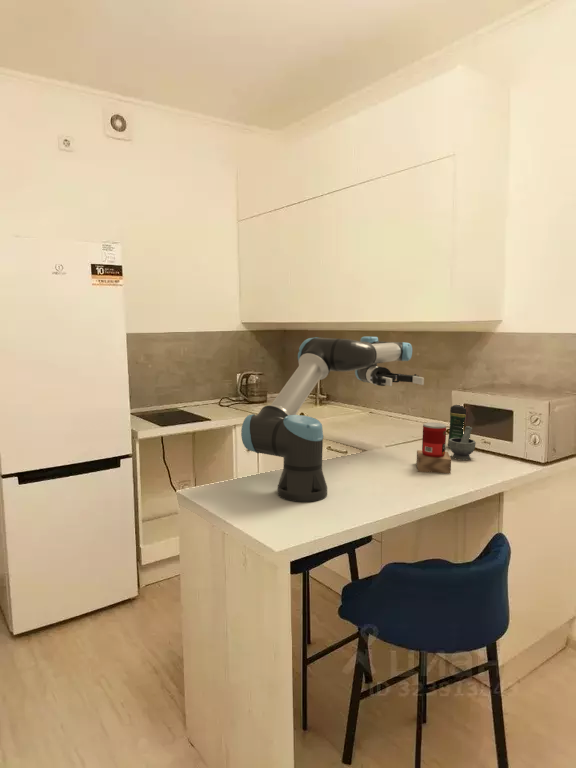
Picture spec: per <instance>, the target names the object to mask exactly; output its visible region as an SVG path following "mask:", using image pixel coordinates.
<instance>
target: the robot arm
mask: <svg viewBox="0 0 576 768" xmlns="http://www.w3.org/2000/svg"><path fill="white" fill-rule="evenodd" d="M298 350H299V351H298V353H297V360H298V367H297V368H296V370H295V371H294V372H293V373H292V375H290V378H289V379H288V381H286V383H285V385H284V386H283V387H282V389H281V390H280V392H279V393H278V394H277V395H276V397H275V398H274V400H273V401H272V402H271V404H268V405H267V404H266V405H265V406H263V407H262V408H261V409H260V410H259V412H258V413H257V414H254V413H253V414H252V413H251V414H249V415H247V416H245V418H244V420H243V422H242V425H241V431H240V432H241V434H240V435H241V436H240V437H241V440H242V445H243V446H244V448H245V449H246V450H248V451H250V452H254V453H256V454H264V455H267V456H268V455H269V456H275V457H280V458H283V469H282V471H281V475H280V477H279V478H280V479H279V480H278V484H277V489H276V491H277V492H276V494H277V495H278V497H280V498H281V499H284V500H285V501H286V500H287V501H291V502H298V503H300V502H301V503H306V502H307V503H309V502H316V501H320V500H323V499H325V498H326V497H327V496H328V485H327V482H326V478H325V475H324V472H323V447H324V444H323V443H324V432H323V431H324V430H323V424H322V423H321V421H320V420H318V419H317V418H314V417H312V416H308V415H299V414H298V412H299V411H300V409H301V408H302V406H303V405H304V403H305V402H306V400H307V398H308V397H309V395H310V394H311V393H312V391H313V390H314V389H315V387H316V386H317V384H318V382H319V381H320V380H324V379H326V378H327V377H328V376H329V374H330V372H353V371H354V374H355V377H356V378H357V380H359V381H361V382H363V383H367V384H372V385H374V386H375V387H377V386H380V387H386V386H389V387H392V386H393V383H400V382H403V383H412V384H416V385H420V386H424V385H425V377H422V376H420V375H417V374H416V373H415V374H405V373H403V374H402V373H394V372H391V370H390V369H389V368H388V367H384V366H379V365H378V364H382V363H389V362H397V361H398V362H399V361H400V362H408V361H410V360H411V359H412V356H413V346H412V344H411V343H409V342H404V341H402V342H400V341H397V342H396V341H382V340H381V341H379V337H378V336H362V337H360V339H359V340H356V339H355V340H354V339H350V338H349V339H348V338H331V337H318V336H317V337H309V338H307V339H305V340H303V342H302V343H301V344H300V346H299V348H298Z"/></svg>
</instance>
